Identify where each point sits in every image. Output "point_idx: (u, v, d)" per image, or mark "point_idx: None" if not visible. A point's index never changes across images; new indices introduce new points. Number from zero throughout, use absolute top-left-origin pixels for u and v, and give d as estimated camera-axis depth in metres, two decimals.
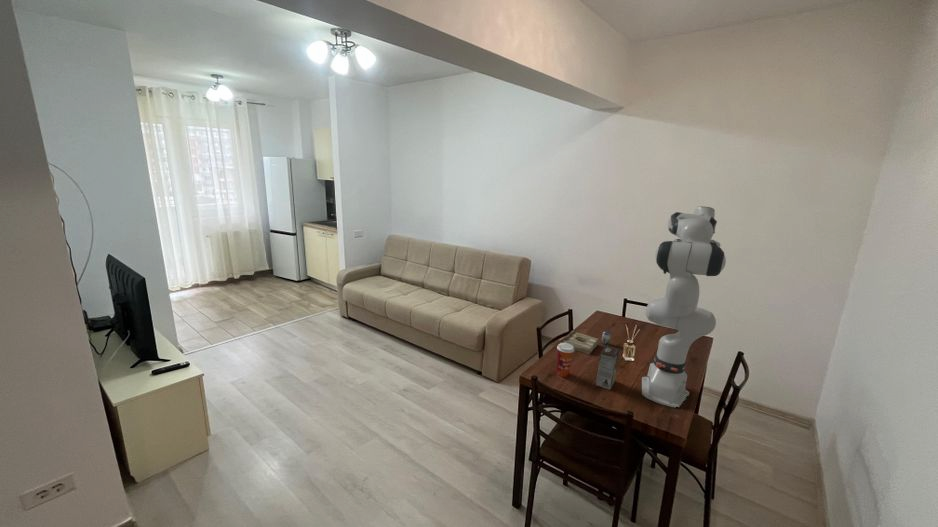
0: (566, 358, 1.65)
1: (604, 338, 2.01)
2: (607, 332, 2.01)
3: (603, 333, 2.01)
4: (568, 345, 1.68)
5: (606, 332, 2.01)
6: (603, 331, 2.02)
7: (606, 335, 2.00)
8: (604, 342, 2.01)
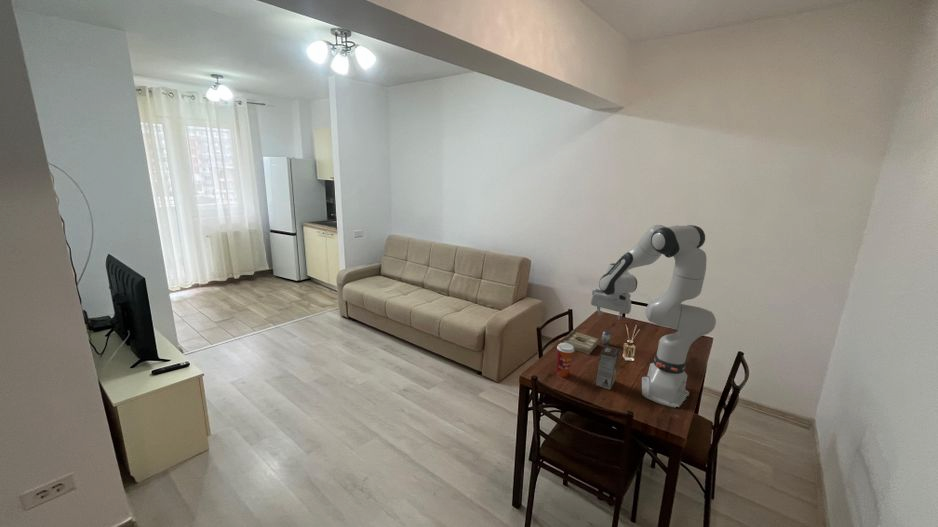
0: (566, 358, 1.65)
1: (604, 338, 2.01)
2: (607, 332, 2.01)
3: (603, 333, 2.01)
4: (568, 345, 1.68)
5: (606, 332, 2.01)
6: (603, 331, 2.02)
7: (606, 335, 2.00)
8: (604, 342, 2.01)
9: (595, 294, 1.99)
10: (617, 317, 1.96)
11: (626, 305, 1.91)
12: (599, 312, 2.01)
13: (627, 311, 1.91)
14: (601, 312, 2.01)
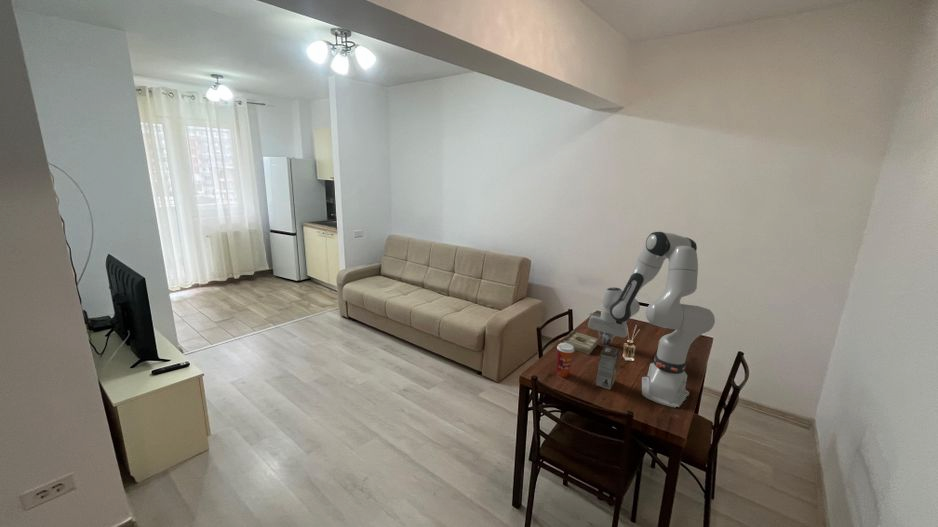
0: (566, 358, 1.65)
1: (604, 338, 2.01)
2: None
3: (603, 333, 2.01)
4: (568, 345, 1.68)
5: None
6: None
7: (606, 335, 2.00)
8: (604, 342, 2.01)
9: (592, 317, 2.03)
10: (610, 339, 2.00)
11: (622, 329, 1.94)
12: (600, 336, 2.03)
13: (623, 335, 1.94)
14: None
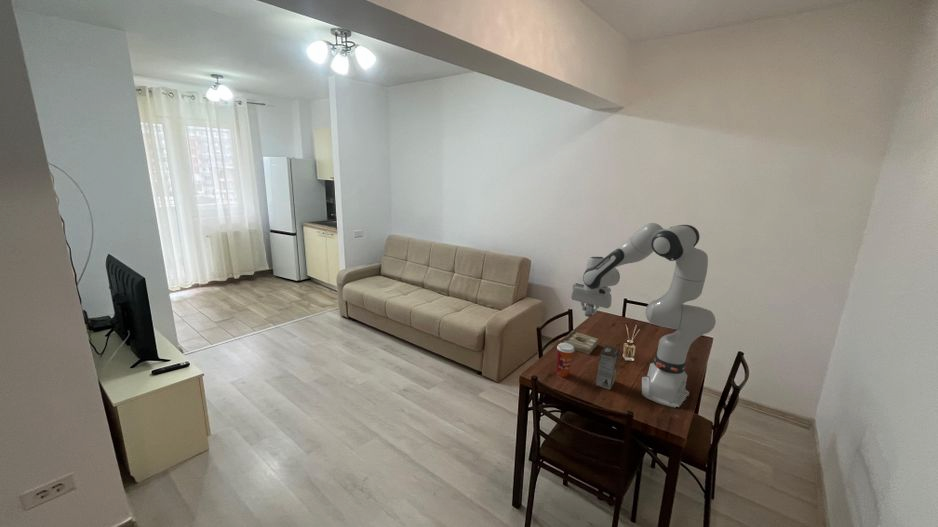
0: (566, 358, 1.65)
1: (587, 309, 1.94)
2: None
3: (586, 304, 1.94)
4: (568, 345, 1.68)
5: None
6: None
7: (589, 306, 1.93)
8: (588, 313, 1.94)
9: (575, 288, 1.96)
10: (593, 311, 1.93)
11: (606, 299, 1.87)
12: (583, 308, 1.96)
13: (607, 305, 1.87)
14: (585, 308, 1.96)
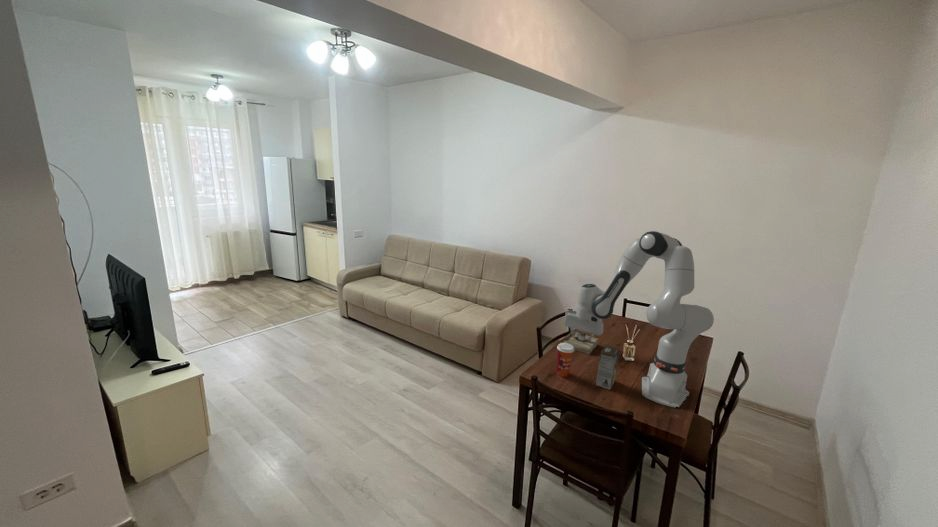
0: (566, 358, 1.65)
1: (579, 339, 1.97)
2: (582, 333, 1.98)
3: (578, 334, 1.98)
4: (568, 345, 1.68)
5: (581, 333, 1.98)
6: (578, 332, 1.99)
7: (581, 336, 1.97)
8: None
9: (568, 315, 1.99)
10: (589, 338, 1.95)
11: (598, 327, 1.90)
12: (572, 333, 2.00)
13: (599, 333, 1.90)
14: (574, 333, 2.00)
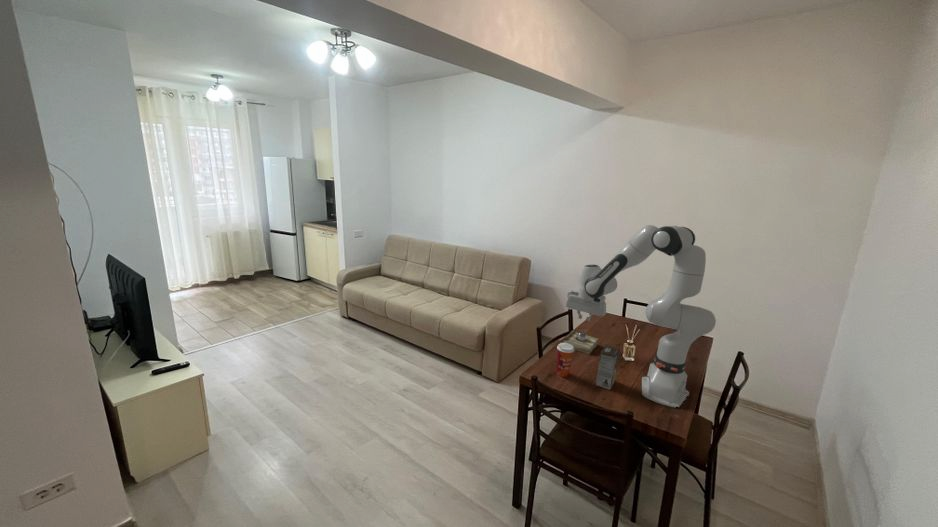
0: (566, 358, 1.65)
1: (579, 339, 1.97)
2: (582, 333, 1.98)
3: (578, 334, 1.98)
4: (568, 345, 1.68)
5: (581, 333, 1.98)
6: (578, 332, 1.99)
7: (581, 336, 1.97)
8: None
9: (570, 296, 1.96)
10: (587, 318, 1.94)
11: (601, 307, 1.87)
12: (579, 316, 1.96)
13: (602, 313, 1.88)
14: (581, 316, 1.96)
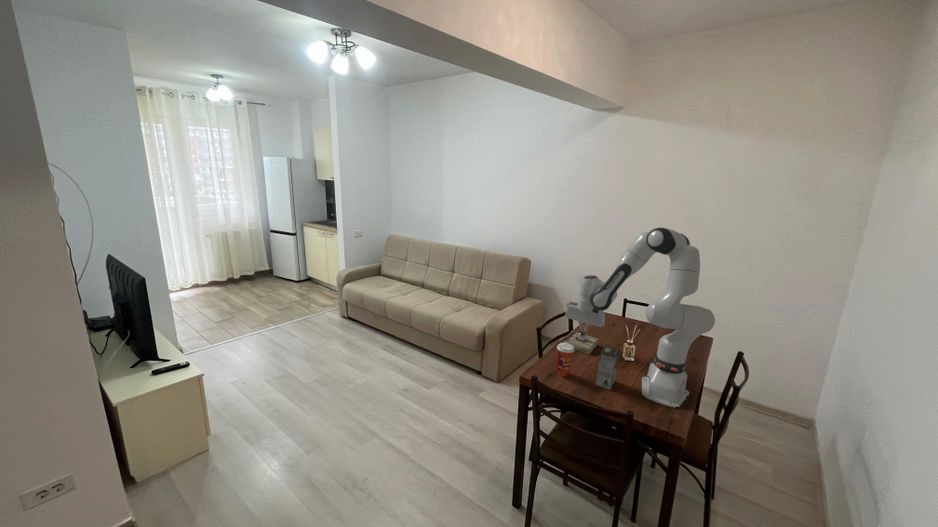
0: (566, 358, 1.65)
1: (579, 339, 1.97)
2: (582, 333, 1.98)
3: (578, 334, 1.98)
4: (568, 345, 1.68)
5: (581, 333, 1.98)
6: (578, 332, 1.99)
7: (581, 336, 1.97)
8: None
9: (569, 306, 1.98)
10: (583, 328, 1.96)
11: (599, 318, 1.89)
12: (581, 327, 1.97)
13: (600, 324, 1.90)
14: None
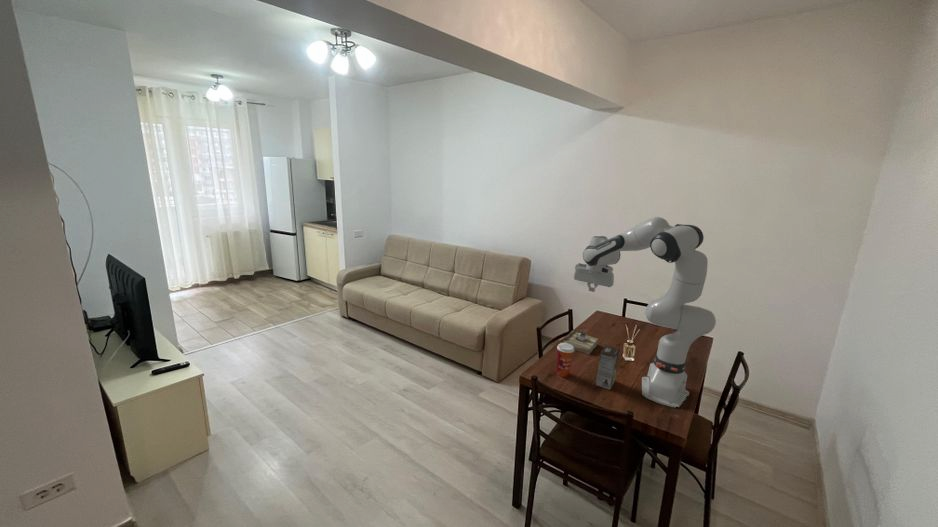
0: (566, 358, 1.65)
1: (579, 339, 1.97)
2: (582, 333, 1.98)
3: (578, 334, 1.98)
4: (568, 345, 1.68)
5: (581, 333, 1.98)
6: (578, 332, 1.99)
7: (581, 336, 1.97)
8: None
9: (578, 268, 1.98)
10: (592, 289, 1.97)
11: (608, 278, 1.89)
12: (589, 288, 1.97)
13: (609, 284, 1.90)
14: None
